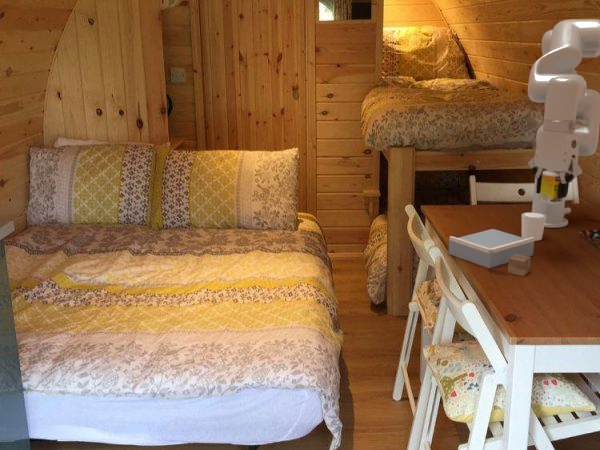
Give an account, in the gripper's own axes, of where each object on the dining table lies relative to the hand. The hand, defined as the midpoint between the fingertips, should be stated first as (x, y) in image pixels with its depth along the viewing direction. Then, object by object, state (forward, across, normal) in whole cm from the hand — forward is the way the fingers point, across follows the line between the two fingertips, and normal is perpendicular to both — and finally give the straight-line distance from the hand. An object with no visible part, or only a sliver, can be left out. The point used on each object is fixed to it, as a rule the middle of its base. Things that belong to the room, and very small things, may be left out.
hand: (551, 194), depth 169 cm
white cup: (+18, +12, -11) cm, 24 cm away
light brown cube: (+17, -3, +16) cm, 24 cm away
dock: (+17, +10, +11) cm, 22 cm away
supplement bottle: (+2, 0, 0) cm, 2 cm away
